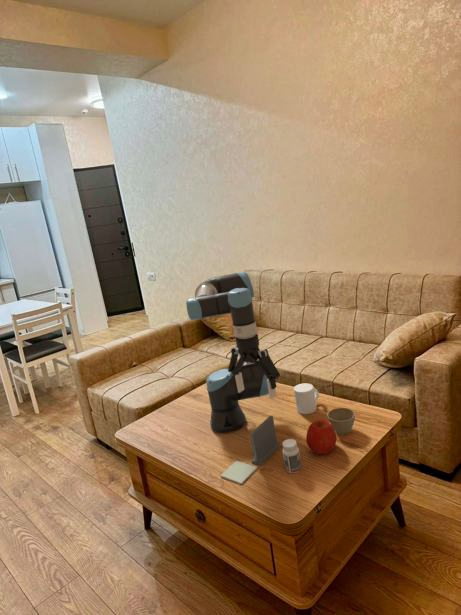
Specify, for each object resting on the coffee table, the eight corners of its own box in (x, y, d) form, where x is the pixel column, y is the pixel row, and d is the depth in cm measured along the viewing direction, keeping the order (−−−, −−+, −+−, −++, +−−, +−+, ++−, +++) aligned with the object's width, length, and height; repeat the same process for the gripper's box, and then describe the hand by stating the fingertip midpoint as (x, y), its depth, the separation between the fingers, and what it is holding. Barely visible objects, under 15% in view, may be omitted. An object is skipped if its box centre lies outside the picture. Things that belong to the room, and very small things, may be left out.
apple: (339, 456, 143) (336, 429, 140) (308, 458, 145) (304, 432, 142) (336, 438, 153) (333, 413, 150) (307, 440, 155) (303, 415, 153)
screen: (252, 462, 148) (246, 433, 145) (271, 443, 158) (267, 414, 155) (261, 465, 146) (255, 435, 143) (280, 445, 155) (276, 417, 152)
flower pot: (358, 437, 151) (356, 420, 150) (330, 439, 154) (327, 422, 152) (355, 423, 161) (353, 406, 159) (329, 424, 163) (327, 408, 161)
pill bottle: (303, 464, 142) (300, 438, 140) (299, 474, 138) (295, 448, 135) (287, 462, 145) (283, 437, 143) (283, 472, 140) (278, 447, 138)
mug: (289, 389, 175) (308, 378, 182) (293, 410, 178) (311, 399, 185) (304, 394, 169) (323, 382, 176) (307, 416, 171) (326, 404, 178)
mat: (221, 476, 144) (220, 475, 144) (236, 462, 150) (236, 460, 150) (241, 484, 138) (241, 483, 138) (257, 468, 145) (256, 467, 144)
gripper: (211, 336, 142) (222, 393, 147) (270, 341, 126) (281, 405, 131) (225, 329, 148) (235, 384, 153) (284, 333, 132) (293, 394, 136)
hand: (256, 394), depth 142 cm, fingers open, 13 cm apart
